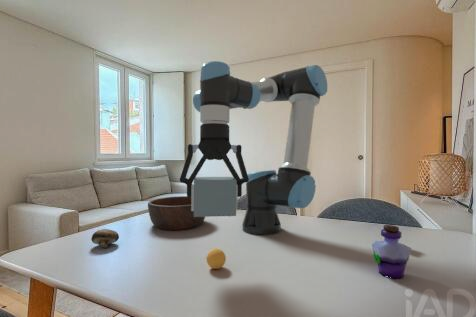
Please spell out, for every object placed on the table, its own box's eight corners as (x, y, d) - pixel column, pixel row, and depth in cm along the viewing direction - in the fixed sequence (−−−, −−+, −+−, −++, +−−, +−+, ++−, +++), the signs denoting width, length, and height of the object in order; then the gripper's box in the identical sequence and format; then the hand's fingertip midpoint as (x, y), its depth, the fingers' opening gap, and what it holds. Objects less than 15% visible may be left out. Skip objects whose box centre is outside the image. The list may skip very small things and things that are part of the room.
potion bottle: (363, 270, 68) (363, 223, 68) (387, 264, 72) (387, 219, 72) (395, 285, 60) (395, 232, 60) (420, 278, 64) (420, 228, 64)
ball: (226, 265, 67) (225, 271, 71) (226, 245, 70) (224, 252, 74) (206, 265, 66) (206, 271, 70) (206, 245, 70) (206, 252, 73)
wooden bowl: (203, 232, 102) (203, 206, 102) (138, 233, 103) (138, 206, 103) (211, 217, 127) (210, 195, 127) (158, 217, 128) (158, 196, 128)
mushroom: (105, 242, 82) (106, 223, 85) (84, 250, 83) (86, 231, 87) (123, 247, 88) (123, 229, 92) (104, 255, 90) (105, 237, 93)
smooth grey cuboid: (231, 208, 75) (232, 176, 75) (236, 215, 65) (236, 179, 65) (195, 208, 74) (195, 176, 74) (193, 216, 64) (193, 179, 64)
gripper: (255, 126, 75) (254, 206, 75) (171, 124, 72) (171, 207, 72) (261, 123, 67) (260, 211, 67) (167, 121, 64) (167, 213, 64)
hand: (214, 209), depth 69 cm, fingers closed on smooth grey cuboid, 10 cm apart
